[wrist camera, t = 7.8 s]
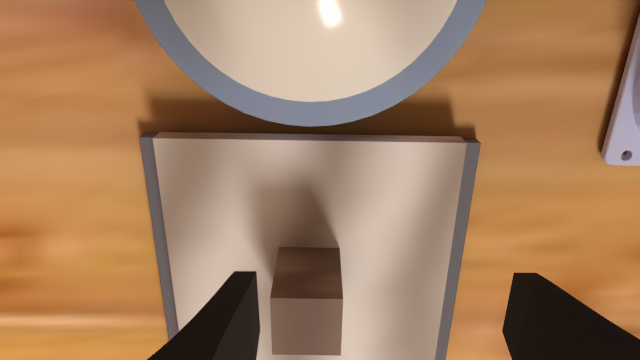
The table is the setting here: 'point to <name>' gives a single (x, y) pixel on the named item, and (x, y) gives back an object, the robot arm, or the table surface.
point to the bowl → (311, 52)
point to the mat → (454, 261)
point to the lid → (316, 235)
